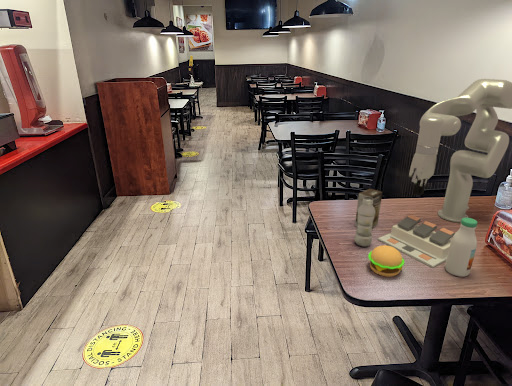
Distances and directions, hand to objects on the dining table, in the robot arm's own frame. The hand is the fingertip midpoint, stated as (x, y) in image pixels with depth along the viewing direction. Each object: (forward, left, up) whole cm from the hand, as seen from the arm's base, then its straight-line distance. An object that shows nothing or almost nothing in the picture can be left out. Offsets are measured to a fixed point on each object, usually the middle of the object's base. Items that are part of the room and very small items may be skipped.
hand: (418, 194), depth 139 cm
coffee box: (+9, -16, -19) cm, 26 cm away
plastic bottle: (+23, -6, -19) cm, 30 cm away
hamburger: (+30, +10, -19) cm, 37 cm away
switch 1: (+3, 0, -12) cm, 12 cm away
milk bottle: (+9, +25, -19) cm, 32 cm away
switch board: (+6, +7, -19) cm, 21 cm away
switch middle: (+3, +7, -12) cm, 14 cm away
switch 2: (+3, +14, -12) cm, 19 cm away
